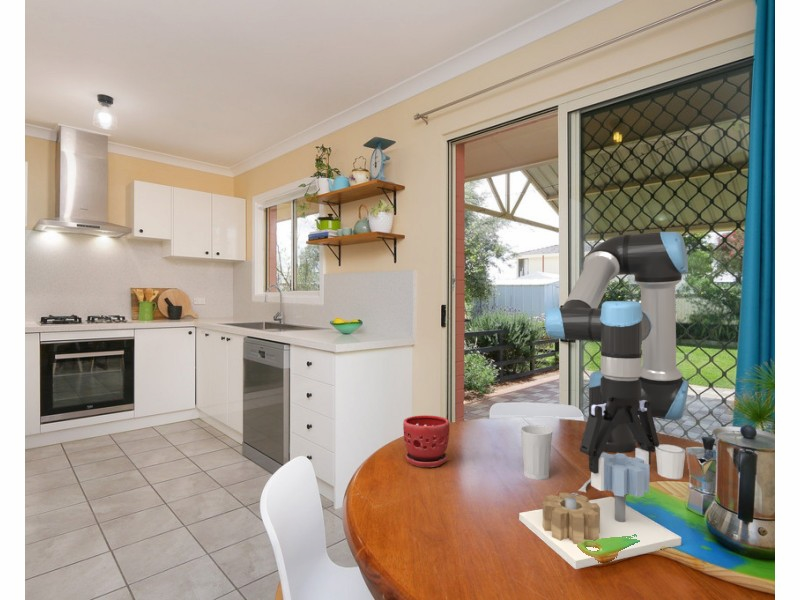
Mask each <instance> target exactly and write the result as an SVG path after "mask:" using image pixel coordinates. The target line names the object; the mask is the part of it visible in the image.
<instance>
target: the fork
mask: <svg viewBox="0 0 800 600" xmlns="http://www.w3.org/2000/svg"><path fill="white" fill-rule="evenodd" d="M588 484H591V476H590V477H589V479H588V480H586V481H585V483H584V484H583V485H582V486H581V487H580V488H579V489H577V491H579V492H583V493H585V494H586V493H588V492H587V486H588ZM569 495H570V496H572V497H575V496H576V497H578V496H579V495H581V496H584V497H586V495H582V494H579V493H577V492H572V493H569Z"/></svg>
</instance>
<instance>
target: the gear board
mask: <svg viewBox="0 0 800 600" xmlns="http://www.w3.org/2000/svg"><path fill="white" fill-rule="evenodd" d="M626 496H627V495H625V494H624V497H622V496H617V495H614V497H613V496H607V497H606V496H605V497H602V498H597V499H590V500H589V502H590V503H597V504H598V506H599V507H600V533H599V539H601V538H610V537H622V536H631V537H633V538H631V539H637V540H640V542H638V543H635V544H634V545H631V546H629V547H627V548H625V549H623V550H621V551H619V552H618V556H617V558H616V557H615V559H614V560H612V561H611V562H615V561H618V560H622V559H627V558H631V557H636V556H640V555H644V554H649V553H653V552H657V551H658V552H659V551H661V550H660V548H661V547H662V546H665V547H671V548H674V547H675V548H676V547H679V546H682V537H681V536H680V535H678V534H676V533H674V532H673V531H671V530H669V529H667V528H666V527H665V526H663V525H662V524H659V523H657V522H656V521H654V520H653V519H650V518H649V517H647V516H646V515H644V514H642V513H641V512H639V511H637V510H636V509H633V508H632V507H630V506H629V505H627V504H626ZM565 508H567V509H576V499H575V498H572V497H567V498H566V499H565ZM518 515H519V516H518V520H519V522H521V523H522V524H523V525H524V526H526V528H527V529H529V530H530V531H531V532H532V533H534V534H535V536H537V537H538V538H539V539H541V540H542V542H544V543H545V544H546V545H547V546H548V547H549V548H550V549H552V550H553V551H554V552H555V553H556V554H557V555H558V556H560V558H562V559H563V560H564V561H565V562H566V563H568V565H570V566H571V567H572V568H573V569H575V570H579V569H583V568H587V567H592V566H596V565H601V564H602V563H600V562H599V563H598V561H597V560H595V558H594V557H591V556H588V555H586V554H585V553H583V552H582V551H581V550H580V549H579V548H578V547H577V544H573V542H572V540H569V538H568V539H563V540H561V541H559V540H557V539H555V538H553V537H552V532H551V531H544V528H543V508H539V509H535V510H534V509H533V510H529V511H523V512H522V511H521V512H519V514H518ZM634 534H636V535H637V537H636V536H635V537H634V536H632V535H634ZM626 538H627V537H626ZM629 539H630V538H629ZM584 540H585V539H584ZM586 548H587V549H588V550H591V551H597V550H599V549H598V548H595V547H594V548H593V547H586Z"/></svg>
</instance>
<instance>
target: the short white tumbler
mask: <svg viewBox="0 0 800 600" xmlns="http://www.w3.org/2000/svg"><path fill="white" fill-rule="evenodd" d="M655 448H656V450H655V459H656V468H657V474H658V475H659V476H660V477H662V478H666V479H670V480H681V479H683V474H684V466H685V458H686V449H685V448H683V447H680V446H678V445H674V444H666V443H665V444H663V443H661V444H660V443H659V446H658V447H655Z"/></svg>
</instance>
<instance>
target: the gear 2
mask: <svg viewBox="0 0 800 600" xmlns="http://www.w3.org/2000/svg"><path fill="white" fill-rule="evenodd" d="M615 453H616V454H615ZM615 453H614V454H611V453H607V452H606V451H603V452H602V454H601V457H603V458H604V491H608V492H612V493H613V495H614V496H615V495H617V496H622V497H624V494H625V495H626V496H627V494H628V495H630V496H634V497H635V498H641V497H645V493H650V465H649V464H644V460H643V459H640V458H638V457H633V456H632V457H631V456H628V455H626V453H623V452H615ZM604 491H603V492H604Z"/></svg>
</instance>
